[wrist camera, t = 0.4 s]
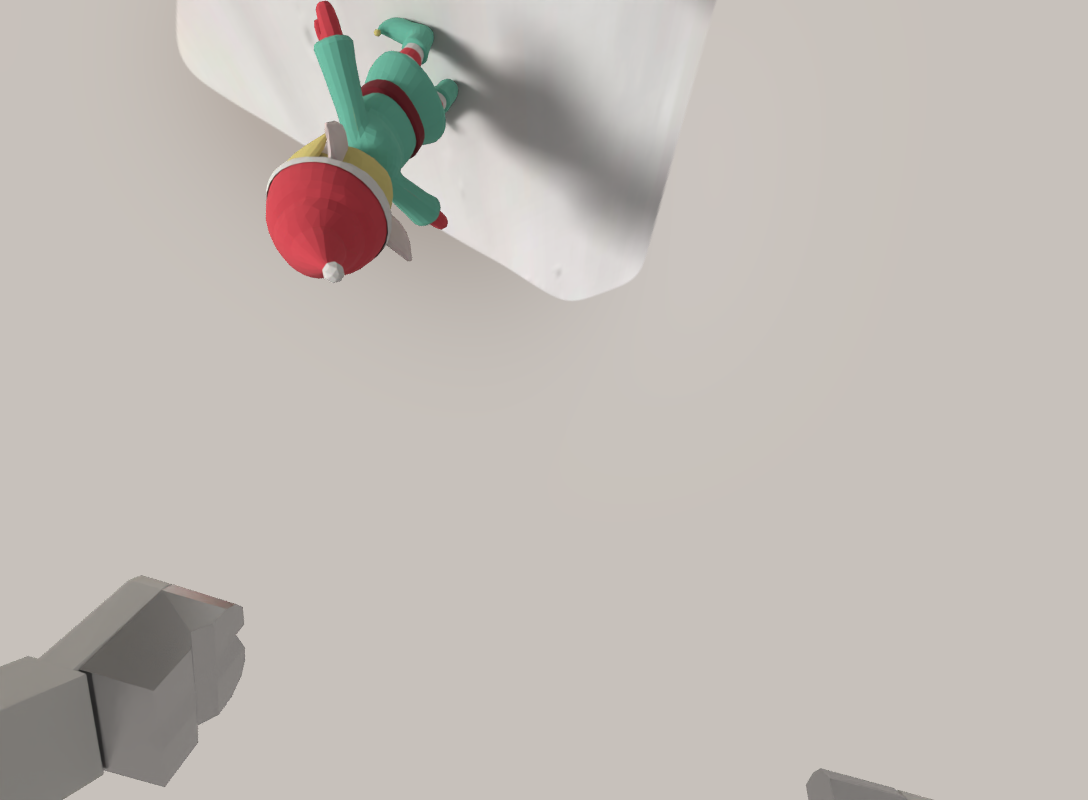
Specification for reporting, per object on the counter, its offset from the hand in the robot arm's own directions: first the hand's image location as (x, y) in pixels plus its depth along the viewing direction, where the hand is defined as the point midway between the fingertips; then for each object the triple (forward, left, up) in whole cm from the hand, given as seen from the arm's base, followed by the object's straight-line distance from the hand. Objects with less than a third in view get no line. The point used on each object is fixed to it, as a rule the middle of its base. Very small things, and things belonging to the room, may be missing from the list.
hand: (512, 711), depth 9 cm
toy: (+4, -23, -52) cm, 57 cm away
